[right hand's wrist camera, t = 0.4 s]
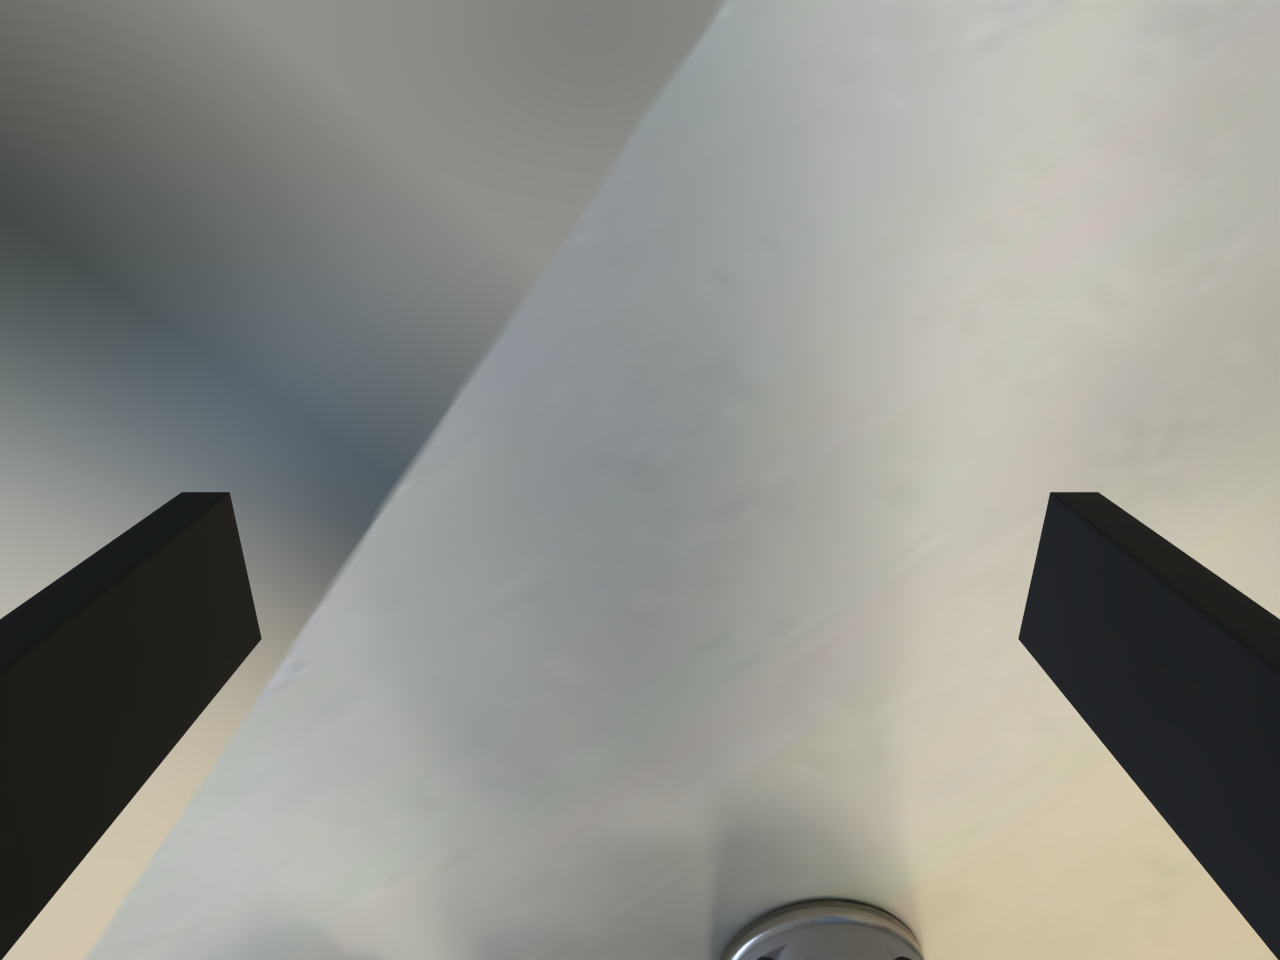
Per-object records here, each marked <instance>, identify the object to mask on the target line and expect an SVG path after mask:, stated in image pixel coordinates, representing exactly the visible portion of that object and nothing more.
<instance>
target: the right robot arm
mask: <svg viewBox="0 0 1280 960" xmlns="http://www.w3.org/2000/svg"><path fill="white" fill-rule="evenodd" d="M260 640H261V634H260V630H259V625H258V620H257V616H256V611H255V607H254V602H253V597H252V593H251V588H250V584H249V579H248V575H247V570H246V565H245V561H244V556H243V552H242V547H241V542H240V538H239V533H238V529H237V524H236V519H235V515H234V510H233V506H232V501H231V496H230V493H229V492H182V493H180V494H179V495H177V496H176V497H174V498H173V499H171V500H170V501H169V502H167V503H166V504H164V505H163V506H162V507H160V508H159V509H157V510H156V511H154V512H153V513H152V514H150V515H149V516H147V517H146V518H144V519H143V520H142V521H140V522H139V523H137V524H136V525H134V526H133V527H132V528H130V529H129V530H127V531H126V532H124V533H123V534H122V535H120V536H119V537H117V538H116V539H114V540H113V541H112V542H110V543H109V544H107V545H106V546H104V547H103V548H102V549H100V550H99V551H97V552H96V553H94V554H93V555H92V556H90V557H89V558H87V559H86V560H84V561H83V562H82V563H80V564H79V565H77V566H76V567H74V568H73V569H72V570H70V571H69V572H67V573H66V574H64V575H63V576H62V577H60V578H59V579H57V580H56V581H54V582H53V583H52V584H50V585H49V586H47V587H46V588H44V589H43V590H42V591H40V592H39V593H37V594H36V595H34V596H33V597H32V598H30V599H29V600H27V601H26V602H24V603H23V604H22V605H20V606H19V607H17V608H16V609H14V610H13V611H12V612H10V613H9V614H7V615H6V616H4V617H3V618H2V619H0V960H2V959H3V957H4V956H5V955H6V954H7V953H8V951H9V950H10V949H11V948H12V946H13V945H14V944H15V943H16V941H17V940H18V939H19V938H20V936H21V935H22V934H23V933H24V932H25V930H26V929H27V928H28V927H29V925H30V924H31V923H32V922H33V920H34V919H35V918H36V917H37V915H38V914H39V913H40V912H41V911H42V909H43V908H44V907H45V906H46V904H47V903H48V902H49V901H50V899H51V898H52V897H53V896H54V894H55V893H56V892H57V891H58V890H59V888H60V887H61V886H62V885H63V883H64V882H65V881H66V880H67V878H68V877H69V876H70V875H71V873H72V872H73V871H74V870H75V869H76V867H77V866H78V865H79V864H80V862H81V861H82V860H83V859H84V857H85V856H86V855H87V854H88V852H89V851H90V850H91V849H92V848H93V846H94V845H95V844H96V843H97V841H98V840H99V839H100V838H101V836H102V835H103V834H104V833H105V831H106V830H107V829H108V828H109V827H110V825H111V824H112V823H113V822H114V820H115V819H116V818H117V817H118V815H119V814H120V813H121V812H122V811H123V809H124V808H125V807H126V806H127V804H128V803H129V802H130V801H131V799H132V798H133V797H134V796H135V794H136V793H137V792H138V791H139V790H140V788H141V787H142V786H143V785H144V783H145V782H146V781H147V780H148V778H149V777H150V776H151V775H152V773H153V772H154V771H155V770H156V769H157V767H158V766H159V765H160V764H161V762H162V761H163V760H164V759H165V757H166V756H167V755H168V754H169V752H170V751H171V750H172V749H173V747H174V746H175V745H176V744H177V743H178V741H179V740H180V739H181V738H182V736H183V735H184V734H185V733H186V731H187V730H188V729H189V728H190V727H191V725H192V724H193V723H194V721H195V720H196V719H197V718H198V717H199V715H200V714H201V713H202V712H203V710H204V709H205V708H206V707H207V706H208V704H209V703H210V702H211V701H212V699H213V698H214V697H215V696H216V694H217V693H218V692H219V691H220V689H221V688H222V687H223V686H224V685H225V683H226V682H227V681H228V680H229V678H230V677H231V676H232V675H233V673H234V672H235V671H236V670H237V668H238V667H239V666H240V665H241V664H242V662H243V661H244V660H245V659H246V657H247V656H248V655H249V654H250V652H251V651H252V650H253V649H254V648H255V646H256V645H257V644H258V643H259V641H260ZM1019 640H1020V641H1021V643H1022V644H1023V645H1024V646H1025V648H1026V649H1027V650H1028V651H1029V652H1030V654H1031V655H1032V656H1033V657H1034V659H1035V660H1036V661H1037V662H1038V664H1039V665H1040V666H1041V667H1042V669H1043V670H1044V671H1045V672H1046V673H1047V675H1048V676H1049V677H1050V678H1051V680H1052V681H1053V682H1054V683H1055V685H1056V686H1057V687H1058V688H1059V690H1060V691H1061V692H1062V693H1063V694H1064V696H1065V697H1066V698H1067V699H1068V701H1069V702H1070V703H1071V704H1072V706H1073V707H1074V708H1075V709H1076V710H1077V712H1078V713H1079V714H1080V715H1081V717H1082V718H1083V719H1084V720H1085V722H1086V723H1087V724H1088V725H1089V727H1090V728H1091V729H1092V730H1093V731H1094V733H1095V734H1096V735H1097V736H1098V738H1099V739H1100V740H1101V741H1102V743H1103V744H1104V745H1105V746H1106V748H1107V749H1108V750H1109V751H1110V752H1111V754H1112V755H1113V756H1114V757H1115V759H1116V760H1117V761H1118V762H1119V764H1120V765H1121V766H1122V767H1123V769H1124V770H1125V771H1126V772H1127V773H1128V775H1129V776H1130V777H1131V778H1132V780H1133V781H1134V782H1135V783H1136V785H1137V786H1138V787H1139V788H1140V790H1141V791H1142V792H1143V793H1144V794H1145V796H1146V797H1147V798H1148V799H1149V801H1150V802H1151V803H1152V804H1153V806H1154V807H1155V808H1156V809H1157V811H1158V812H1159V813H1160V814H1161V815H1162V817H1163V818H1164V819H1165V820H1166V822H1167V823H1168V824H1169V825H1170V827H1171V828H1172V829H1173V830H1174V832H1175V833H1176V834H1177V835H1178V836H1179V838H1180V839H1181V840H1182V841H1183V843H1184V844H1185V845H1186V846H1187V848H1188V849H1189V850H1190V851H1191V853H1192V854H1193V855H1194V856H1195V857H1196V859H1197V860H1198V861H1199V862H1200V864H1201V865H1202V866H1203V867H1204V869H1205V870H1206V871H1207V872H1208V874H1209V875H1210V876H1211V877H1212V878H1213V880H1214V881H1215V882H1216V883H1217V885H1218V886H1219V887H1220V888H1221V890H1222V891H1223V892H1224V893H1225V894H1226V896H1227V897H1228V898H1229V899H1230V901H1231V902H1232V903H1233V904H1234V906H1235V907H1236V908H1237V909H1238V911H1239V912H1240V913H1241V914H1242V915H1243V917H1244V918H1245V919H1246V920H1247V922H1248V923H1249V924H1250V925H1251V927H1252V928H1253V929H1254V930H1255V932H1256V933H1257V934H1258V935H1259V936H1260V938H1261V939H1262V940H1263V941H1264V943H1265V944H1266V945H1267V946H1268V948H1269V949H1270V950H1271V951H1272V953H1273V954H1274V955H1275V956H1276V957H1277V959H1278V960H1280V619H1278V618H1277V617H1276V616H1274V615H1273V614H1271V613H1270V612H1268V611H1267V610H1266V609H1264V608H1263V607H1261V606H1260V605H1258V604H1257V603H1256V602H1254V601H1253V600H1251V599H1250V598H1248V597H1247V596H1246V595H1244V594H1243V593H1241V592H1240V591H1238V590H1237V589H1236V588H1234V587H1233V586H1231V585H1230V584H1228V583H1227V582H1226V581H1224V580H1223V579H1221V578H1220V577H1218V576H1217V575H1216V574H1214V573H1213V572H1211V571H1210V570H1208V569H1207V568H1206V567H1204V566H1203V565H1201V564H1200V563H1198V562H1197V561H1196V560H1194V559H1193V558H1191V557H1190V556H1188V555H1187V554H1186V553H1184V552H1183V551H1181V550H1180V549H1178V548H1177V547H1176V546H1174V545H1173V544H1171V543H1170V542H1168V541H1167V540H1166V539H1164V538H1163V537H1161V536H1160V535H1158V534H1157V533H1156V532H1154V531H1153V530H1151V529H1150V528H1148V527H1147V526H1146V525H1144V524H1143V523H1141V522H1140V521H1138V520H1137V519H1136V518H1134V517H1133V516H1131V515H1130V514H1128V513H1127V512H1126V511H1124V510H1123V509H1121V508H1120V507H1118V506H1117V505H1116V504H1114V503H1113V502H1111V501H1110V500H1109V499H1107V498H1106V497H1104V496H1103V495H1101V494H1100V493H1099V492H1050V496H1049V501H1048V506H1047V510H1046V515H1045V519H1044V524H1043V529H1042V533H1041V538H1040V542H1039V547H1038V552H1037V556H1036V561H1035V565H1034V570H1033V574H1032V579H1031V584H1030V588H1029V593H1028V597H1027V602H1026V607H1025V611H1024V616H1023V620H1022V625H1021V630H1020V634H1019ZM720 960H925V959H924V956H923V953H922V951H921V948H920V946H919V944H918V941H917V940H916V938H915V937H914V935H913V934H912V933H911V932H910V930H909V929H908V928H907V927H906V926H904V925H903V924H902V923H901V922H900V921H898V920H897V919H895V918H894V917H892V916H890V915H889V914H887V913H885V912H882V911H880V910H878V909H875V908H872V907H869V906H866V905H862V904H857V903H852V902H843V901H815V902H807V903H801V904H796V905H792V906H788V907H785V908H782V909H779V910H776V911H774V912H771V913H769V914H767V915H765V916H763V917H761V918H759V919H757V920H756V921H754V922H752V923H751V924H750V925H748V926H747V927H745V928H744V929H743V930H742V931H741V932H740V933H738V934H737V935H736V936H735V938H734V939H733V940H732V941H731V942H730V944H729V945H728V946H727V948H726V949H725V951H724V953H723V955H722V957H721V959H720Z"/></svg>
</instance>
